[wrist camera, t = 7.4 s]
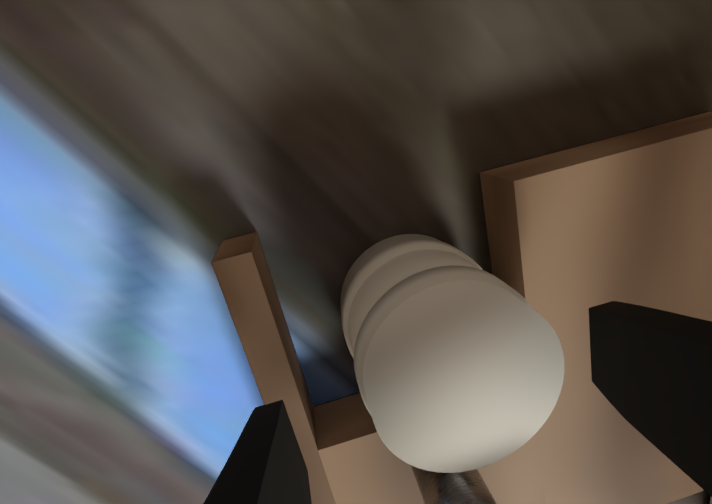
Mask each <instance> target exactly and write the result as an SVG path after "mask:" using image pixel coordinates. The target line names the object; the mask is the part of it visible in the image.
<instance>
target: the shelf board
mask: <svg viewBox="0 0 712 504" xmlns="http://www.w3.org/2000/svg"><path fill="white" fill-rule="evenodd" d="M480 180H481V188H482V196H483V204H484V212H485V220H486V228H487V236H488V244H489V252H490V260H491V268H492V275H494V276H496V277H497V278H499V279H500V280H502V281H503V282H505V283H506V284H507V285H509V286H510V287H511V288H513V289H514V290H516V291H517V292H518V293H519V294H520V295H522V296H523V297H524V298H525V299H526V300H527V302H528V303H529V304H530V306H531V307H532V308H533V309H534V310H535V311H536V312H538V313H539V314H540V315H541V316H542V317H543V318H545V319H546V320H547V321H548V323H549V324H550V325H551V327H552V328H553V329H554V331H555V333H556V334H557V336H558V338H559V340H560V344H561V347H562V350H563V355H564V379H563V385H562V388H561V392H560V395H559V398H558V400H557V403H556V405H555V407H554V409H553V410H552V412H551V414H550V416H549V417H548V419H547V420H546V422H545V423H544V424H543V426H542V427H541V428H540V429H539V430H538V432H537V433H536V434H535V435H534V436H533V437H532V438H531V439H530V440H529V441H528V442H526V443H525V444H524V445H523V446H521V447H520V448H519V449H518V450H516V451H514V452H513V453H511V454H510V455H508V456H507V457H505V458H503V459H501V460H499V461H497V462H495V463H492V464H490V465H487V466H485V467H481V468H478V471H479V473H480V475H481V476H482V478H483V480H484V482H485V484H486V485H487V487H488V489H489V491H490V493H491V494H492V496H493V498H494V500H495V502H496V503H497V504H667V503H670V502H673V501H676V500H679V499H681V498H684V497H687V496H690V495H693V494H696V493H699V492H701V491H704V490H703V489H702V488H701V487H700V486H699V485H698V484H697V483H696V482H694V481H693V480H692V479H691V478H690V477H689V476H688V475H687V474H685V473H684V472H683V471H682V470H681V469H680V468H679V467H678V466H676V465H675V464H674V463H673V462H672V461H671V460H670V459H669V458H667V457H666V456H665V455H664V454H663V453H662V452H661V451H660V450H658V449H657V448H656V447H655V446H654V445H653V444H652V443H651V442H650V441H648V440H647V439H646V438H645V437H644V436H643V435H642V434H641V433H640V432H639V431H637V430H636V429H635V428H634V427H633V426H632V425H631V424H630V423H629V422H628V421H627V420H626V419H624V417H623V416H622V415H621V414H620V413H619V412H618V411H617V410H616V409H615V408H614V406H613V405H612V404H611V403H610V402H609V401H608V400H607V399H606V397H605V396H604V395H603V394H602V393H601V392H600V390H599V389H598V388H597V387H596V386H595V384H594V383H593V382H592V375H591V353H590V330H589V308H591V307H594V306H597V305H601V304H604V303H607V302H611V301H617V302H624V303H630V304H635V305H640V306H645V307H650V308H654V309H659V310H663V311H668V312H672V313H677V314H681V315H685V316H690V317H694V318H698V319H703V320H707V321H711V322H712V111H711V112H706V113H703V114H699V115H695V116H691V117H687V118H684V119H680V120H676V121H672V122H669V123H665V124H661V125H657V126H653V127H650V128H646V129H642V130H638V131H635V132H631V133H627V134H623V135H620V136H616V137H612V138H608V139H604V140H601V141H597V142H593V143H589V144H586V145H582V146H578V147H574V148H570V149H567V150H563V151H559V152H555V153H552V154H548V155H544V156H540V157H536V158H533V159H529V160H525V161H521V162H518V163H514V164H510V165H506V166H502V167H499V168H495V169H491V170H487V171H484V172H480ZM211 263H212V266H213V268H214V271H215V274H216V277H217V279H218V282H219V285H220V287H221V290H222V293H223V295H224V298H225V301H226V303H227V306H228V309H229V311H230V314H231V317H232V319H233V322H234V325H235V327H236V330H237V333H238V335H239V338H240V341H241V343H242V346H243V349H244V351H245V354H246V357H247V359H248V362H249V365H250V367H251V370H252V373H253V375H254V378H255V381H256V383H257V386H258V389H259V391H260V394H261V397H262V399H263V402H264V405H266V404H269V403H273V402H276V401H279V400H283V402H284V405H285V407H286V410H287V413H288V416H289V419H290V422H291V424H292V427H293V430H294V433H295V436H296V439H297V442H298V444H299V447H300V450H301V453H302V456H303V459H304V461H305V464H306V467H307V470H308V477H309V485H310V493H311V501H312V504H425V503H424V500H423V497H422V495H421V492H420V489H419V487H418V484H417V481H416V478H415V476H414V473H413V470H412V468H411V465H410V464H407V463H406V462H404V461H403V460H401V459H399V458H398V457H397V456H395V455H394V454H393V453H392V452H391V451H390V450H389V449H388V448H387V447H386V445H385V444H384V443H383V442H382V440H381V438H380V436H379V435H378V433H377V430H376V428H375V425H374V422H373V419H372V417H371V415H370V414H369V412H368V410H367V409H366V407H365V405H364V402H363V399H362V397H361V394H360V393H358V394H354V395H351V396H348V397H344V398H341V399H338V400H335V401H331V402H328V403H325V404H322V405H318V406H315V407H313V403H312V400H311V397H310V394H309V391H308V388H307V385H306V382H305V379H304V376H303V373H302V370H301V367H300V363H299V360H298V357H297V354H296V351H295V348H294V345H293V342H292V339H291V336H290V333H289V330H288V327H287V324H286V320H285V317H284V314H283V311H282V308H281V305H280V302H279V299H278V296H277V293H276V290H275V287H274V284H273V280H272V277H271V274H270V271H269V268H268V265H267V262H266V259H265V256H264V253H263V250H262V247H261V244H260V240H259V237H258V234H257V232H253V233H249V234H246V235H242V236H238V237H234V238H231V239H227V240H223V241H222V243H221V245H220V247H219V249H218V251H217V253H216V255H215V257H214V258H213V260H212V262H211Z"/></svg>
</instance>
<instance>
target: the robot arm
mask: <svg viewBox="0 0 712 504" xmlns="http://www.w3.org/2000/svg"><path fill="white" fill-rule="evenodd" d="M589 330H590V353H591V375H592V382H593V383H594V384H595V386H596V387H597V388H598V389H599V390H600V392H601V393H602V394H603V395H604V396H605V397H606V399H607V400H608V401H609V402H610V403H611V404H612V405H613V406H614V408H615V409H616V410H617V411H618V412H619V413H620V414H621V415H622V416H623V417H624V419H626V420H627V421H628V422H629V423H630V424H631V425H632V426H633V427H634V428H635V429H636V430H637V431H639V432H640V433H641V434H642V435H643V436H644V437H645V438H646V439H647V440H648V441H650V442H651V443H652V444H653V445H654V446H655V447H656V448H657V449H658V450H660V451H661V452H662V453H663V454H664V455H665V456H666V457H667V458H669V459H670V460H671V461H672V462H673V463H674V464H675V465H676V466H678V467H679V468H680V469H681V470H682V471H683V472H684V473H685V474H687V475H688V476H689V477H690V478H691V479H692V480H693V481H694V482H696V483H697V484H698V485H699V486H700V487H701V488H702V489H703V490H704V491H706V492H707V493H708V494H709V495H710V496H711V497H710V504H712V322H711V321H707V320H703V319H698V318H694V317H690V316H685V315H681V314H677V313H672V312H668V311H663V310H659V309H654V308H650V307H645V306H640V305H635V304H630V303H624V302H617V301H611V302H607V303H604V304H601V305H597V306H594V307H591V308H589ZM204 504H312V501H311V493H310V485H309V477H308V470H307V467H306V464H305V461H304V459H303V456H302V453H301V450H300V447H299V444H298V442H297V439H296V436H295V433H294V430H293V427H292V424H291V422H290V419H289V416H288V413H287V410H286V407H285V405H284V402H283V400H279V401H276V402H273V403H269V404H266V405H263V406H259V407H256V408H255V409H254V410H253V412H252V414H251V416H250V418H249V419H248V421H247V423H246V425H245V427H244V429H243V431H242V433H241V435H240V437H239V439H238V441H237V443H236V445H235V447H234V449H233V451H232V453H231V455H230V456H229V458H228V460H227V462H226V464H225V466H224V468H223V469H222V471H221V473H220V475H219V477H218V479H217V480H216V482H215V484H214V486H213V488H212V489H211V491H210V493H209V495H208V497H207V498H206V500H205V502H204Z"/></svg>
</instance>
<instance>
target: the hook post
mask: <svg viewBox="0 0 712 504" xmlns="http://www.w3.org/2000/svg"><path fill="white" fill-rule="evenodd" d="M411 468H412V470H413V473H414V476H415V478H416V481H417V484H418V487H419V489H420V492H421V495H422V497H423V500H424V503H425V504H497V503H496V502H495V500H494V498H493V496H492V494H491V493H490V491H489V489H488V487H487V485H486V484H485V482H484V480H483V478H482V476H481V475H480V473H479V471H478V469H474V470H470V471H464V472H455V473H440V472H432V471H427V470H423V469H420V468H416V467H414V466H412V465H411Z"/></svg>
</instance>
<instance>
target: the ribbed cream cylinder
mask: <svg viewBox="0 0 712 504" xmlns="http://www.w3.org/2000/svg"><path fill="white" fill-rule="evenodd" d="M340 306H341V324H342V328H343V333H344V336H345V340H346V343H347V346H348V349H349V351H350V354H351V355H352V357H353V359H354V370H355V375H356V379H357V383H358V386H359V390H360V394H361V397H362V399H363V402H364V405H365V407H366V409H367V410H368V412H369V414H370V415H371V417H372V419H373V422H374V425H375V428H376V430H377V433H378V435H379V436H380V438H381V440H382V442H383V443H384V444H385V445H386V447H387V448H388V449H389V450H390V451H391V452H392V453H393V454H394V455H395V456H397V457H398V458H399V459H401V460H403V461H404V462H406V463H407V464H410V465H412V466H414V467H416V468H420V469H423V470H427V471H432V472H440V473H455V472H464V471H470V470H474V469H478V468H481V467H485V466H487V465H490V464H492V463H495V462H497V461H499V460H501V459H503V458H505V457H507V456H508V455H510V454H511V453H513V452H514V451H516V450H518V449H519V448H520V447H521V446H523V445H524V444H525V443H526V442H528V441H529V440H530V439H531V438H532V437H533V436H534V435H535V434H536V433H537V432H538V430H539V429H540V428H541V427H542V426H543V424H544V423H545V422H546V420H547V419H548V417H549V416H550V414H551V412H552V410H553V409H554V407H555V405H556V403H557V400H558V398H559V395H560V392H561V388H562V385H563V379H564V355H563V350H562V347H561V344H560V340H559V338H558V336H557V334H556V333H555V331H554V329H553V328H552V327H551V325H550V324H549V323H548V321H547V320H546V319H545V318H543V317H542V316H541V315H540V314H539V313H538V312H536V311H535V310H534V309H533V308H532V307H531V306H530V304H529V303H528V302H527V300H526V299H525V298H524V297H523V296H522V295H520V294H519V293H518V292H517V291H516V290H514V289H513V288H511V287H510V286H509V285H507V284H506V283H505V282H503V281H502V280H500V279H499V278H497V277H496V276H494V275H492V274H490V273H488V272H486V271H484V270H483V269H482V268H481V267H480V266H479V265H478V264H477V263H476V262H475V261H474V260H473V259H471V258H470V257H469V256H467V255H466V254H464V253H463V252H462V251H460V250H459V249H457V248H456V247H454V246H452V245H450V244H448V243H445V242H442V241H440V240H438V239H436V238H433V237H430V236H427V235H421V234H401V235H397V236H392V237H389V238H387V239H384V240H382V241H380V242H378V243H376V244H374V245H373V246H371V247H370V248H368V249H367V250H366V251H365V252H364V253H362V254H361V255H360V256H359V258H358V259H357V260H356V261H355V262H354V263H353V265H352V266H351V268H350V269H349V271H348V273H347V275H346V277H345V280H344V283H343V286H342V290H341V298H340Z"/></svg>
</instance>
